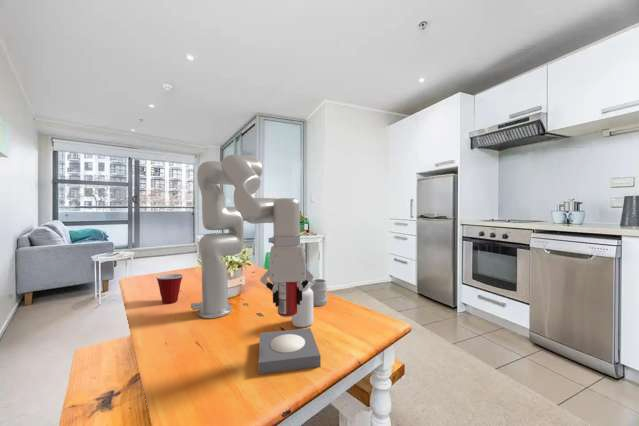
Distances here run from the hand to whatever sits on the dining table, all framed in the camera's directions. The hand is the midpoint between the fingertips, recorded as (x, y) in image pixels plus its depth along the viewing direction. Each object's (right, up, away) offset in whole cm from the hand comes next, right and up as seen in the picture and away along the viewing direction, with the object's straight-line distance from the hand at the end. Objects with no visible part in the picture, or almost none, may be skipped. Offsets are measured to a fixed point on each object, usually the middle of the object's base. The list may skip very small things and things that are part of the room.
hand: (287, 303), depth 76 cm
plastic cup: (-58, -14, +43) cm, 73 cm away
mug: (+7, -14, +39) cm, 42 cm away
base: (0, -15, 0) cm, 15 cm away
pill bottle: (+3, -14, +20) cm, 25 cm away
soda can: (0, -3, 0) cm, 3 cm away
